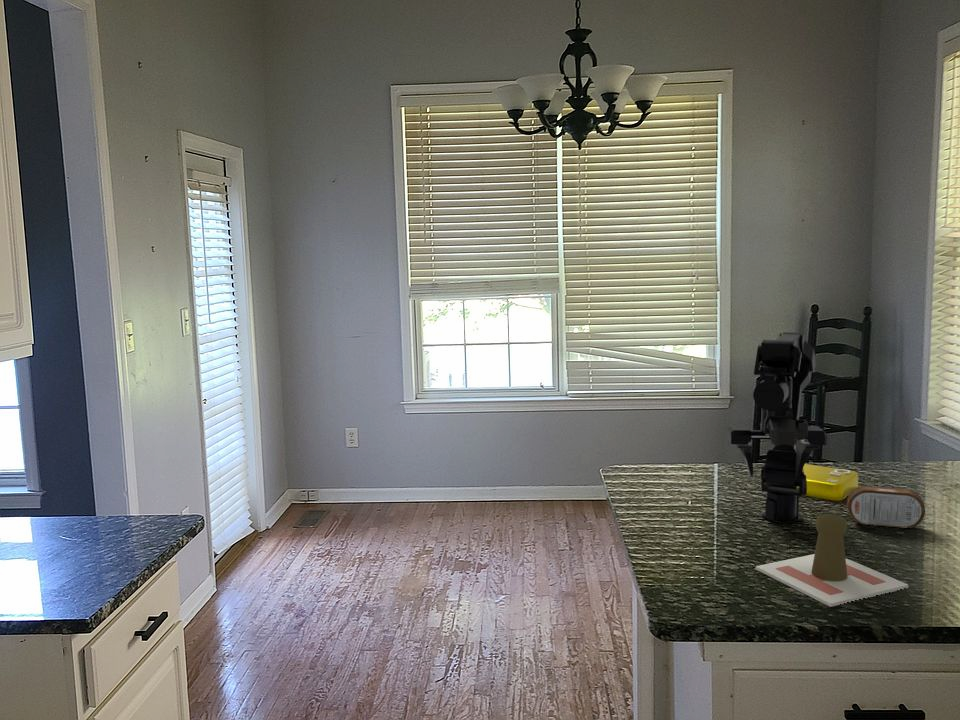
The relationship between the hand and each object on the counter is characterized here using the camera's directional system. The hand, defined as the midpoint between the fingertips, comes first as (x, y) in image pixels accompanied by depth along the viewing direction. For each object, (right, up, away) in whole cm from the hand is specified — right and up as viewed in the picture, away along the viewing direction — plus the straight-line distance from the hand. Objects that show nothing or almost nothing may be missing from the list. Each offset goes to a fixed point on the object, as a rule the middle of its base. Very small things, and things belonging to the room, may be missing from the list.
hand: (774, 476), depth 169 cm
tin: (+26, -12, +7) cm, 30 cm away
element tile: (+23, -9, +35) cm, 43 cm away
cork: (+3, -15, -20) cm, 25 cm away
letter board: (+3, -16, -20) cm, 25 cm away
